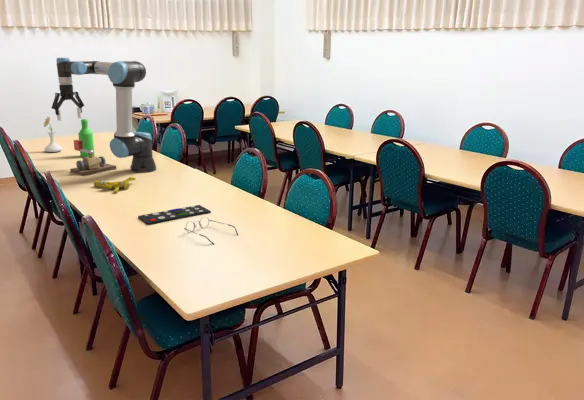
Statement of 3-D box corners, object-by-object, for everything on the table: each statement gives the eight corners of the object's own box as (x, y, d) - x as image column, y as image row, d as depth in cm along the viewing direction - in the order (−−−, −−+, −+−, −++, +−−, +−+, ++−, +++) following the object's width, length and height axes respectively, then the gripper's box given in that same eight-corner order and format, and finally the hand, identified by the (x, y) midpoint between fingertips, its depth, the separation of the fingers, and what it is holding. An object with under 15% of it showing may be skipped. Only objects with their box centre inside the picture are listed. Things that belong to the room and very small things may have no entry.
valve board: (116, 169, 308) (115, 151, 305) (84, 175, 291) (83, 157, 287) (101, 165, 316) (100, 148, 312) (70, 172, 298) (68, 154, 295)
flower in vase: (45, 150, 355) (41, 114, 348) (63, 149, 358) (59, 114, 351) (43, 154, 343) (38, 117, 336) (61, 153, 347) (57, 117, 339)
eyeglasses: (210, 225, 219) (210, 214, 217) (240, 235, 207) (240, 224, 206) (181, 234, 207) (180, 223, 205) (211, 246, 195) (211, 234, 194)
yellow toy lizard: (84, 191, 261) (119, 193, 257) (83, 179, 260) (119, 180, 256) (107, 184, 282) (140, 186, 279) (107, 173, 281) (140, 174, 277)
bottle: (91, 157, 336) (87, 120, 328) (78, 157, 336) (74, 120, 329) (96, 155, 344) (93, 118, 337) (84, 154, 344) (80, 118, 337)
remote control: (138, 219, 224) (138, 214, 223) (199, 207, 242) (199, 203, 241) (148, 226, 215) (148, 221, 215) (210, 214, 233) (210, 209, 233)
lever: (94, 153, 298) (93, 142, 296) (89, 154, 295) (88, 143, 293) (79, 149, 306) (78, 139, 304) (74, 150, 303) (72, 140, 301)
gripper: (80, 82, 315) (84, 116, 321) (42, 84, 295) (47, 120, 301) (87, 83, 311) (91, 117, 317) (49, 85, 291) (54, 122, 297)
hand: (69, 119), depth 309 cm, fingers open, 13 cm apart
